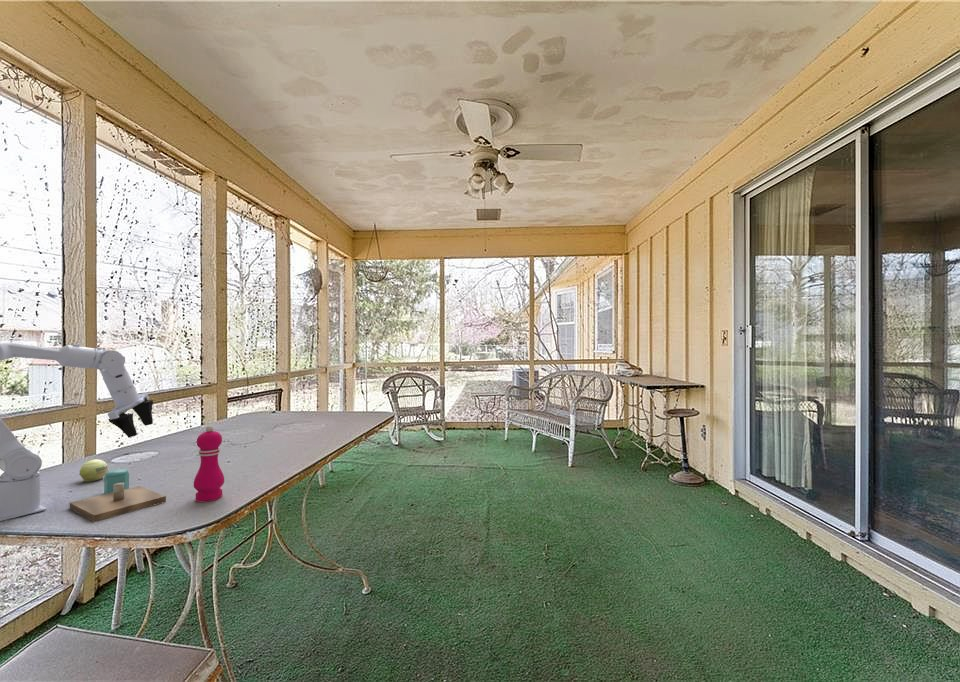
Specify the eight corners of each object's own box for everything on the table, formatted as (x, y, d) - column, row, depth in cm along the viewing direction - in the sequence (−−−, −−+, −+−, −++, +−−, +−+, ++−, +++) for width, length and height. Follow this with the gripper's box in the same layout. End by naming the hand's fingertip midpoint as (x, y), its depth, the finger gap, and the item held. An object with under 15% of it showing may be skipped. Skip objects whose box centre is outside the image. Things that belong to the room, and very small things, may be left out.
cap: (109, 495, 119) (109, 475, 119) (102, 492, 121) (102, 472, 121) (131, 490, 123) (131, 470, 123) (123, 487, 126) (123, 468, 126)
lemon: (92, 461, 130) (111, 455, 137) (71, 464, 130) (91, 458, 137) (95, 482, 130) (114, 475, 137) (74, 485, 130) (94, 478, 137)
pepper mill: (218, 491, 123) (219, 422, 123) (228, 497, 118) (229, 425, 118) (189, 498, 117) (190, 425, 117) (198, 504, 112) (199, 429, 113)
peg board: (94, 521, 102) (94, 498, 102) (69, 508, 110) (69, 487, 110) (165, 501, 115) (166, 481, 115) (139, 491, 123) (139, 472, 123)
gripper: (118, 395, 117) (139, 438, 121) (151, 377, 131) (168, 416, 135) (92, 401, 117) (113, 444, 121) (127, 382, 131) (145, 421, 135)
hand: (141, 430), depth 128 cm, fingers open, 7 cm apart
